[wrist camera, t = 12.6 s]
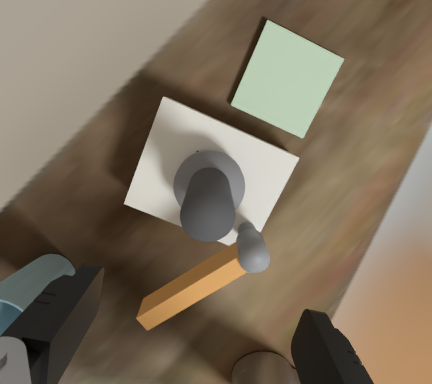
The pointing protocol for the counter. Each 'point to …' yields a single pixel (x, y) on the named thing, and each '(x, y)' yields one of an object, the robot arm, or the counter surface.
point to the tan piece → (205, 278)
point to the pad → (286, 80)
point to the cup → (29, 285)
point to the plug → (208, 194)
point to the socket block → (198, 141)
